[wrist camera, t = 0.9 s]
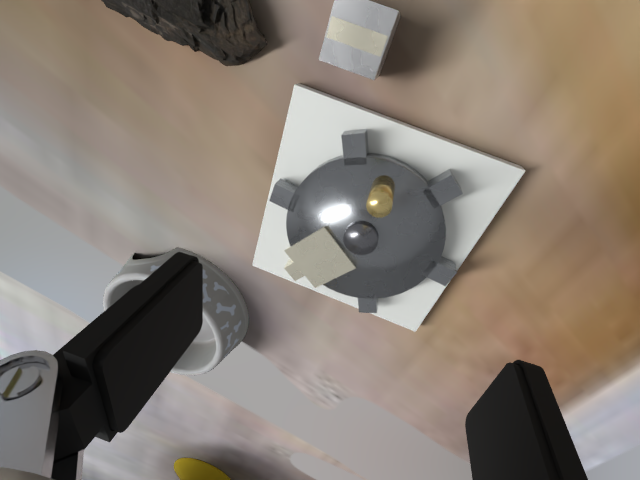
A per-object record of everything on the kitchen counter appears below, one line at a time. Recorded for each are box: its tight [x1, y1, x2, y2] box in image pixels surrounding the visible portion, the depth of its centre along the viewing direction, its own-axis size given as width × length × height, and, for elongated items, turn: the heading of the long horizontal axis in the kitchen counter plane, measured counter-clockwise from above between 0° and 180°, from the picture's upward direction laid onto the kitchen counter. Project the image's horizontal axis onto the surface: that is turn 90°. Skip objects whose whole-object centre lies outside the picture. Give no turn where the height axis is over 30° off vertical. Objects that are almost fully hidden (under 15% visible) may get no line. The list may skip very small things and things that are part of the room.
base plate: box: [252, 83, 525, 331], centre depth 31 cm, size 19×19×1 cm
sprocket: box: [269, 129, 463, 313], centre depth 28 cm, size 18×17×6 cm
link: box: [319, 0, 401, 80], centre depth 23 cm, size 4×4×4 cm
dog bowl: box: [103, 247, 249, 375], centre depth 42 cm, size 17×18×5 cm
